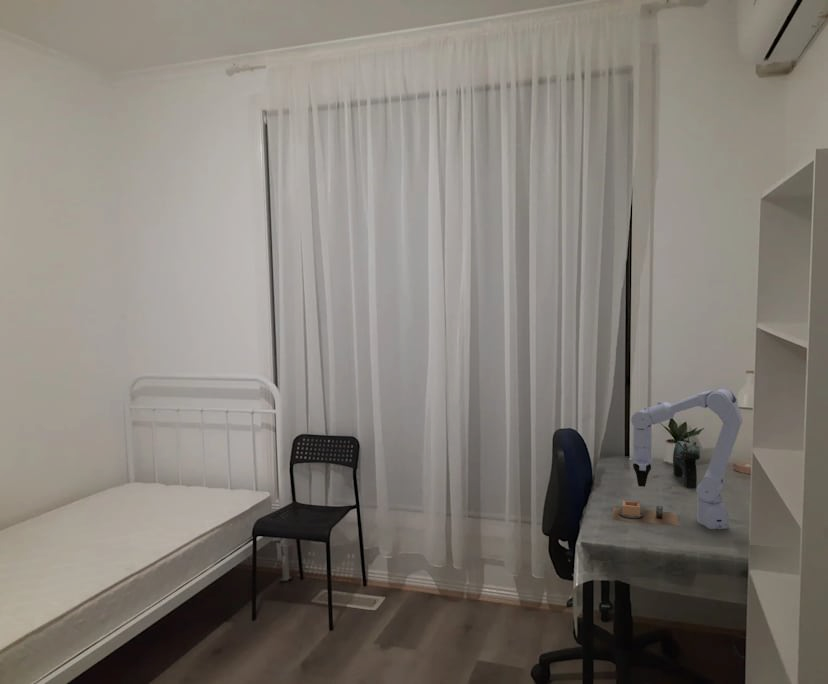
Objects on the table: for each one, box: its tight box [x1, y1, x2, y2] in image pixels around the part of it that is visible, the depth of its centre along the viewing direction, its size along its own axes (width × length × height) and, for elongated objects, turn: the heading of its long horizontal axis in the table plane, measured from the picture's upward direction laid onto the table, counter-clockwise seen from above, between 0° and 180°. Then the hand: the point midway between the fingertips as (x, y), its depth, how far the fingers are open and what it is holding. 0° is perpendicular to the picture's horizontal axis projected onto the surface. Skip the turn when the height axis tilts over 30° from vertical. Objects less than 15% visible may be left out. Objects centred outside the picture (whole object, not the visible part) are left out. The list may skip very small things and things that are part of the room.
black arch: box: [672, 432, 701, 489], centre depth 246 cm, size 20×6×20 cm, turn 173°
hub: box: [619, 505, 643, 519], centre depth 207 cm, size 8×8×3 cm
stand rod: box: [655, 505, 664, 519], centre depth 204 cm, size 2×2×4 cm
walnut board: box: [612, 507, 680, 527], centre depth 206 cm, size 20×12×2 cm, turn 72°
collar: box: [622, 500, 641, 516], centre depth 207 cm, size 5×5×3 cm
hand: (641, 485), depth 212 cm, fingers closed
